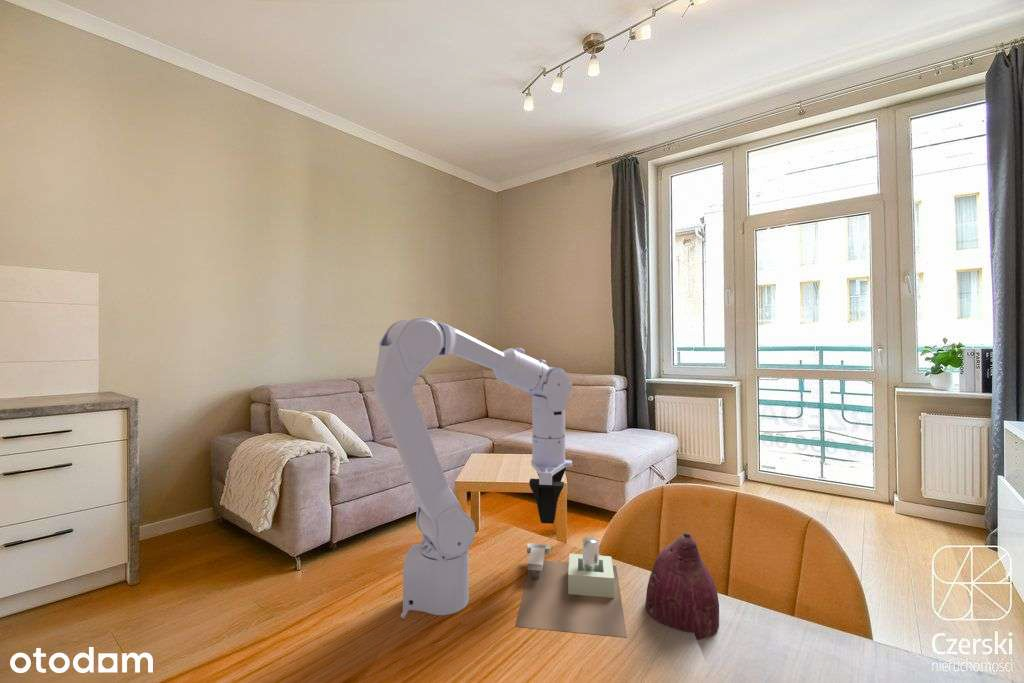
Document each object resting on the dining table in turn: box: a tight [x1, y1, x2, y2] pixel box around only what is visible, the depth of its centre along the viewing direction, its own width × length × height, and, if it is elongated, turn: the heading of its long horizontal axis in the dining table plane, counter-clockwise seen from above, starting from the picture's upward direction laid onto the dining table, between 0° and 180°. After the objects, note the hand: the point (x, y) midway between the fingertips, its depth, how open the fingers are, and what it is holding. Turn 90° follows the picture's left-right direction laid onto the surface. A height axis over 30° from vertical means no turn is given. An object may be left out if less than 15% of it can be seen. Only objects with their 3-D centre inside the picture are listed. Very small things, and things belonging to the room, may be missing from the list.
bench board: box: [514, 542, 628, 639], centre depth 69 cm, size 16×19×4 cm
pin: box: [582, 536, 600, 572], centre depth 71 cm, size 3×3×7 cm
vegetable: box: [645, 531, 720, 641], centre depth 63 cm, size 10×10×15 cm
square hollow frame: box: [568, 553, 614, 598], centre depth 71 cm, size 7×7×3 cm
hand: (549, 513), depth 76 cm, fingers open, 7 cm apart
